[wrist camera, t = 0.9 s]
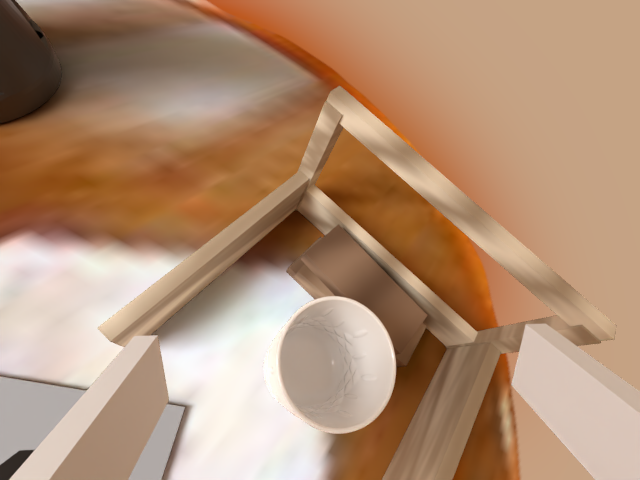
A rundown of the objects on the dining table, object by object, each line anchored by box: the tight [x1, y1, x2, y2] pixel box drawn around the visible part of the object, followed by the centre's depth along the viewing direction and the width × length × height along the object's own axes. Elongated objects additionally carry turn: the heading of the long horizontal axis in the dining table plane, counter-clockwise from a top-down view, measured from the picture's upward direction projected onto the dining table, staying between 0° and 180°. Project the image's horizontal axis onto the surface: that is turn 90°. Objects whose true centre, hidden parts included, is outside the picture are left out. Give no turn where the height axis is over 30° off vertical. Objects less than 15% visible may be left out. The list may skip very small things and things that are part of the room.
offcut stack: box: [286, 224, 427, 368], centre depth 30 cm, size 14×6×5 cm, turn 49°
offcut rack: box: [98, 86, 616, 480], centre depth 22 cm, size 25×21×15 cm
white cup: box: [263, 296, 396, 434], centre depth 23 cm, size 8×8×10 cm
